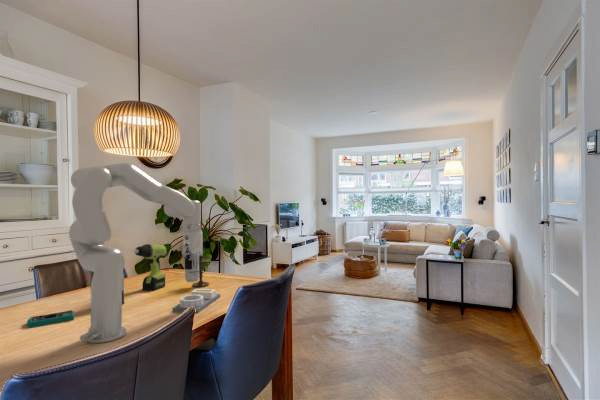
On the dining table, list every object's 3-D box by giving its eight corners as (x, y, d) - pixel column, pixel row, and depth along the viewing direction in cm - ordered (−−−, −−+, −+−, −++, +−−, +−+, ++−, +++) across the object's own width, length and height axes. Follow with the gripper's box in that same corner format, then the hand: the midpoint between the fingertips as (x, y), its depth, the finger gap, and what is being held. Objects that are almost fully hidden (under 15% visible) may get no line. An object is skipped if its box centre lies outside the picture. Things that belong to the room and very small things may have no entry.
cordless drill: (139, 296, 165) (139, 247, 165) (127, 295, 167) (127, 246, 167) (167, 285, 188) (168, 241, 188) (157, 284, 189) (157, 241, 190)
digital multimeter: (28, 323, 130) (28, 316, 130) (73, 316, 138) (73, 309, 138) (26, 329, 124) (26, 322, 124) (74, 321, 133) (74, 314, 133)
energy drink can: (191, 282, 144) (191, 248, 144) (182, 281, 147) (182, 247, 147) (202, 280, 149) (201, 247, 149) (192, 278, 152) (192, 246, 152)
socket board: (198, 312, 141) (198, 302, 141) (172, 311, 143) (172, 301, 143) (220, 296, 165) (220, 287, 165) (197, 295, 167) (197, 287, 167)
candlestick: (213, 283, 192) (213, 223, 193) (206, 288, 182) (206, 224, 182) (195, 282, 194) (195, 223, 194) (187, 287, 183) (187, 224, 183)
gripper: (190, 229, 139) (190, 271, 139) (208, 226, 156) (208, 264, 156) (174, 229, 140) (174, 271, 140) (193, 226, 157) (193, 263, 157)
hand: (192, 267), depth 148 cm, fingers closed on energy drink can, 6 cm apart
